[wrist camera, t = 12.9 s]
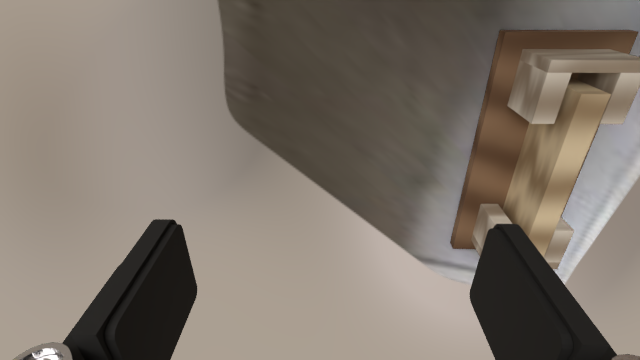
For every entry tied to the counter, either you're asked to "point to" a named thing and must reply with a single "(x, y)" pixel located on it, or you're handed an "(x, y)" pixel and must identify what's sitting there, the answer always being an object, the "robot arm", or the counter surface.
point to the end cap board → (509, 122)
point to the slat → (553, 163)
